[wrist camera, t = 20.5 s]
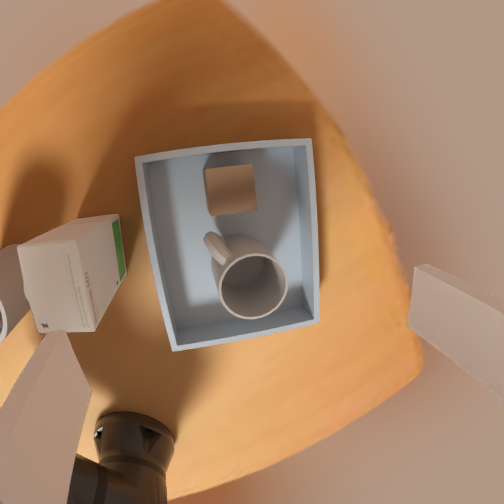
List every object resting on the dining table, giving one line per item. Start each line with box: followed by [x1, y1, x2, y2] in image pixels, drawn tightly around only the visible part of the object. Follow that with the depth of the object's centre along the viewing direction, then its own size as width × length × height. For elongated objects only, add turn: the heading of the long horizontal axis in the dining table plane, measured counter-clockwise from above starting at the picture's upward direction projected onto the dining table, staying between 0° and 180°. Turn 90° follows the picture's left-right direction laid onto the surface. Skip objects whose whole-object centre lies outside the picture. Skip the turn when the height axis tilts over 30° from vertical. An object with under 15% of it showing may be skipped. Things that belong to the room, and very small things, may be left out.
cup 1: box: [0, 243, 31, 343], centre depth 27 cm, size 9×9×12 cm
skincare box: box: [17, 214, 127, 333], centre depth 28 cm, size 8×7×16 cm
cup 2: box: [203, 231, 288, 319], centre depth 34 cm, size 7×10×9 cm
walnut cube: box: [203, 164, 257, 216], centre depth 33 cm, size 5×5×5 cm
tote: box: [134, 138, 319, 352], centre depth 36 cm, size 20×24×5 cm
